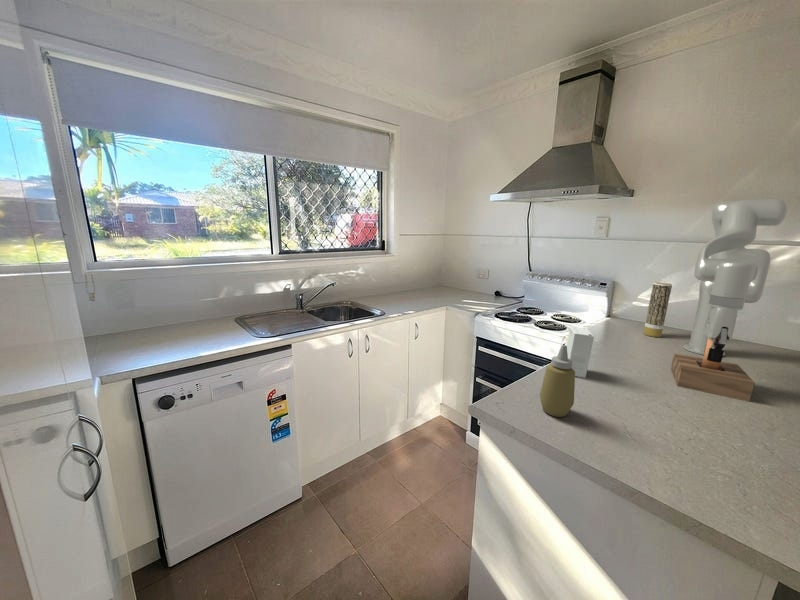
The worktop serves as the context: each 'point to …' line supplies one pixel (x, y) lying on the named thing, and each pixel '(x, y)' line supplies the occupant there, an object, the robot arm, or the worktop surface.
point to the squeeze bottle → (558, 385)
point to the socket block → (712, 377)
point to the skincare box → (579, 349)
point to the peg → (705, 362)
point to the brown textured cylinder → (657, 309)
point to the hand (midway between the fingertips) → (712, 358)
